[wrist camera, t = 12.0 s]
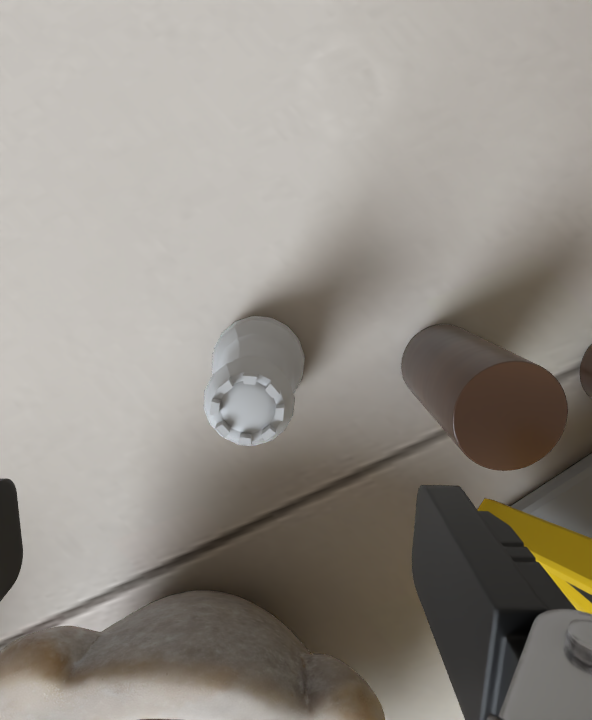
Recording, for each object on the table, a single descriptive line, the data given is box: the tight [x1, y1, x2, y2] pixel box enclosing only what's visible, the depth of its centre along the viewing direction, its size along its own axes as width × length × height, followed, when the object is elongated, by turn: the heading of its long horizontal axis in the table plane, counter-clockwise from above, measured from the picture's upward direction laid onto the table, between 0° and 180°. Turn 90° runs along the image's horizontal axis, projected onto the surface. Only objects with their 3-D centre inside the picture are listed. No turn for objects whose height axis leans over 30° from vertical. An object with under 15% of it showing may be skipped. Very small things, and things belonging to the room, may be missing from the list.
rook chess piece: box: [204, 316, 305, 446], centre depth 21 cm, size 4×4×8 cm
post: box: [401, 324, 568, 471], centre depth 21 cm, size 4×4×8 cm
